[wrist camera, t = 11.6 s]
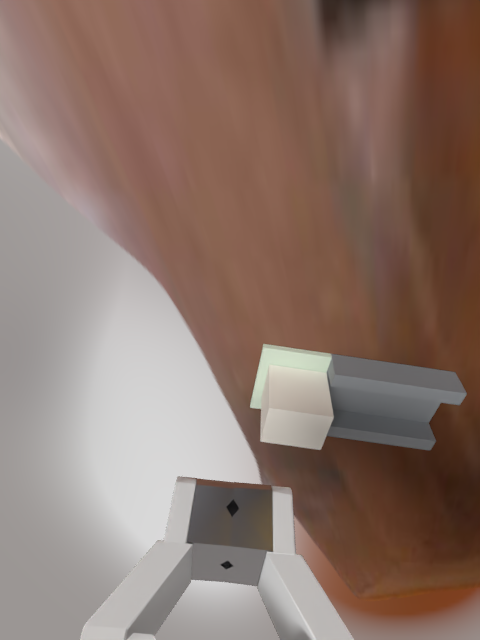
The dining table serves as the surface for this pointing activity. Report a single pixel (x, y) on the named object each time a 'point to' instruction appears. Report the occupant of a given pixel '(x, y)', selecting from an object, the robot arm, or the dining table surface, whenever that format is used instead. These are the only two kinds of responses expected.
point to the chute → (371, 395)
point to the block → (295, 407)
